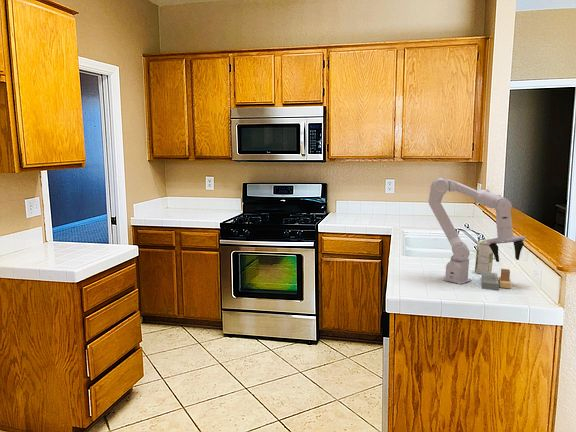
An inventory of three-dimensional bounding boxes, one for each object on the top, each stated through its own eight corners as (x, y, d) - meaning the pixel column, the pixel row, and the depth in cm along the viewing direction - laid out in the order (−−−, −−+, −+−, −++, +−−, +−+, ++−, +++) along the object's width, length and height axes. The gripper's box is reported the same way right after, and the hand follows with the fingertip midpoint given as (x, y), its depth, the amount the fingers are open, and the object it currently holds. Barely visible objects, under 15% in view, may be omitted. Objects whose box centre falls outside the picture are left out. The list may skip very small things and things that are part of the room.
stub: (499, 287, 186) (500, 272, 185) (498, 281, 195) (499, 267, 194) (510, 288, 184) (511, 273, 184) (509, 282, 194) (510, 268, 193)
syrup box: (478, 270, 214) (480, 239, 212) (492, 273, 210) (494, 241, 208) (474, 273, 209) (476, 241, 207) (488, 275, 206) (490, 242, 204)
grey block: (481, 288, 185) (482, 282, 184) (481, 277, 201) (481, 271, 201) (498, 290, 182) (499, 283, 182) (496, 279, 199) (497, 273, 199)
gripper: (488, 230, 186) (491, 264, 187) (527, 226, 184) (530, 260, 185) (483, 228, 193) (486, 260, 194) (520, 224, 191) (523, 257, 192)
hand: (507, 260), depth 190 cm, fingers open, 7 cm apart
